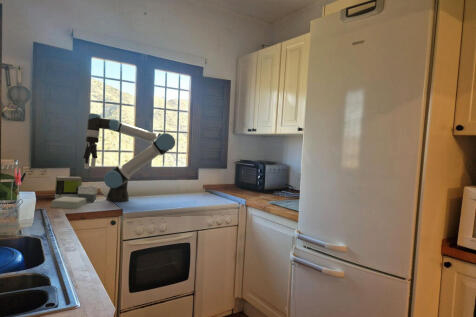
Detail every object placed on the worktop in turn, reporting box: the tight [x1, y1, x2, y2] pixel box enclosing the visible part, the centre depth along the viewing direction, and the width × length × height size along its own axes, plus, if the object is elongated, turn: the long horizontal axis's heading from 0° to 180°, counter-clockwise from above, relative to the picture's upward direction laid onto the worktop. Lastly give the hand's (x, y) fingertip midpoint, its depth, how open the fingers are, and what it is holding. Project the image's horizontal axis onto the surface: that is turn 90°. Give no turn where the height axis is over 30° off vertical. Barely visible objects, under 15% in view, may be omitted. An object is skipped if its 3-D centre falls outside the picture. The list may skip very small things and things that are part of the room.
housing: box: [76, 185, 98, 203], centre depth 203 cm, size 12×6×10 cm, turn 99°
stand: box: [50, 197, 87, 210], centre depth 183 cm, size 14×16×4 cm
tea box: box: [54, 176, 83, 200], centre depth 205 cm, size 15×10×15 cm
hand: (89, 168), depth 203 cm, fingers open, 13 cm apart
